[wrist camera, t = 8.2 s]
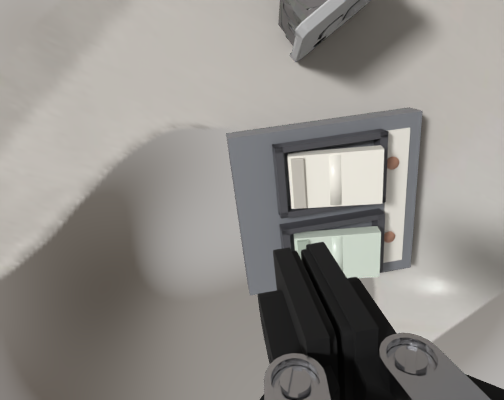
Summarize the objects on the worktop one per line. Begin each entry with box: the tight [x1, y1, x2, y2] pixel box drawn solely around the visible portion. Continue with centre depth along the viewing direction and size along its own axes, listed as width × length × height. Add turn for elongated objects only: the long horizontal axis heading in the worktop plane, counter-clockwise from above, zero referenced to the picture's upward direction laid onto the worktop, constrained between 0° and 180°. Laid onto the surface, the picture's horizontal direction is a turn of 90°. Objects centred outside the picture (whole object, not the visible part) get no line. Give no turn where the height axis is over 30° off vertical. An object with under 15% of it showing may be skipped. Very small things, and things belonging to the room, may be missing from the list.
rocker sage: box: [294, 226, 381, 278], centre depth 39 cm, size 9×6×2 cm, turn 97°
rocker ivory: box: [288, 145, 384, 209], centre depth 35 cm, size 9×6×2 cm, turn 97°
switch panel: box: [226, 108, 422, 295], centre depth 39 cm, size 20×19×4 cm
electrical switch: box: [279, 0, 371, 62], centre depth 29 cm, size 9×5×9 cm, turn 128°
